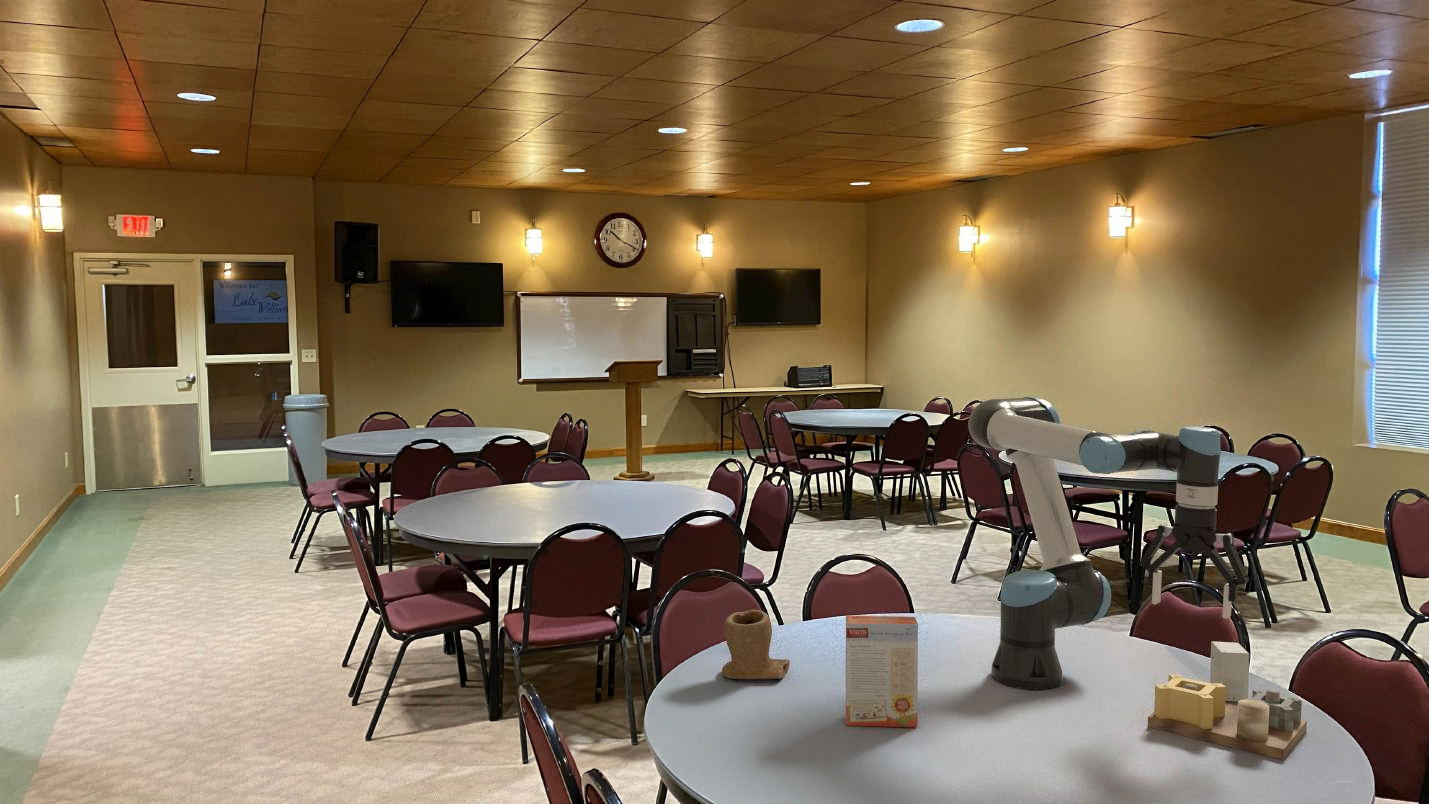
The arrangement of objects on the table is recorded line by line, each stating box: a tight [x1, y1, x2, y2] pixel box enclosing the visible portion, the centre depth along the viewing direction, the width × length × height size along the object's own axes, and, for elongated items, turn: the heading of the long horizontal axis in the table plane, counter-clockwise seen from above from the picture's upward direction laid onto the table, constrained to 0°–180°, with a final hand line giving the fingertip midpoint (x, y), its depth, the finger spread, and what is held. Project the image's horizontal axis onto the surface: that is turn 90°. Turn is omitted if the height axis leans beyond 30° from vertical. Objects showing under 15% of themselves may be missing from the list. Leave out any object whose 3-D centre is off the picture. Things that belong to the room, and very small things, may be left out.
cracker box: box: [845, 615, 919, 728], centre depth 207 cm, size 14×6×21 cm, turn 84°
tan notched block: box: [1153, 673, 1227, 729], centre depth 206 cm, size 11×11×6 cm
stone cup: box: [721, 609, 791, 680], centre depth 234 cm, size 15×12×15 cm
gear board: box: [1147, 684, 1308, 761], centre depth 204 cm, size 24×18×8 cm
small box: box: [1209, 640, 1250, 703], centre depth 222 cm, size 8×6×10 cm
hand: (1190, 609), depth 210 cm, fingers open, 13 cm apart
